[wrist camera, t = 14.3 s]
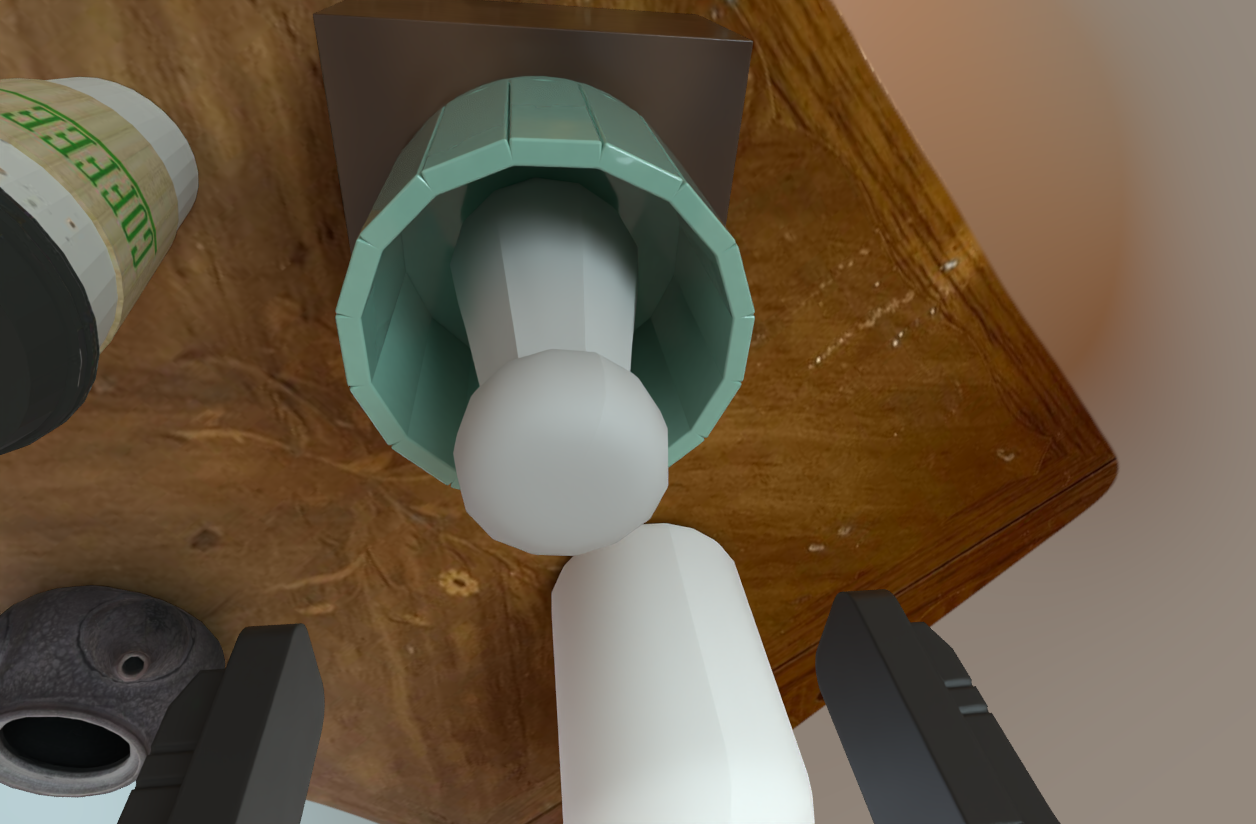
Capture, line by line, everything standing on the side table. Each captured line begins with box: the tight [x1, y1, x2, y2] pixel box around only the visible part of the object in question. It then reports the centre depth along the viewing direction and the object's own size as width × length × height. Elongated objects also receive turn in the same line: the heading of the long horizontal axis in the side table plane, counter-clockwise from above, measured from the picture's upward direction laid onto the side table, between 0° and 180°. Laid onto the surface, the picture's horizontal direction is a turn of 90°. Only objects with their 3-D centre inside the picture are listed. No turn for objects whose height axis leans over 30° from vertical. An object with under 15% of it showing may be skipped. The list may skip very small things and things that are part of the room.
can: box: [552, 523, 815, 824], centre depth 39 cm, size 12×12×20 cm
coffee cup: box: [0, 77, 198, 455], centre depth 22 cm, size 10×10×15 cm
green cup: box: [335, 76, 755, 490], centre depth 21 cm, size 10×10×8 cm
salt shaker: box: [450, 177, 668, 556], centre depth 19 cm, size 6×6×13 cm
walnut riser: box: [313, 0, 753, 256], centre depth 28 cm, size 13×13×8 cm
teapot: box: [0, 585, 225, 797], centre depth 37 cm, size 19×15×10 cm
